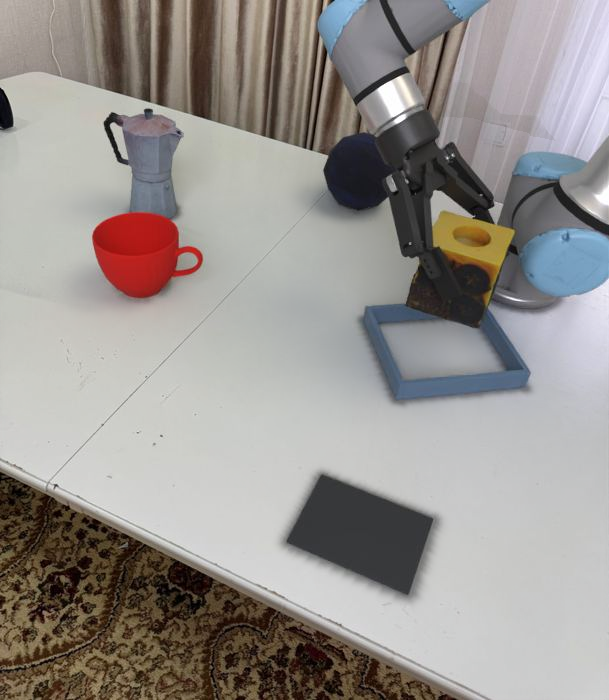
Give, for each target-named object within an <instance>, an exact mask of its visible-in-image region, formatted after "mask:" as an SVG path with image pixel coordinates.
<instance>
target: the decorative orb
mask: <svg viewBox="0 0 609 700" xmlns="http://www.w3.org/2000/svg"><path fill="white" fill-rule="evenodd" d="M376 138H377V135H371V134H370V133H367V132H365V131H363V132H359V133H355V134H352V135H347V136H343V137H342V138H341V139H340V140H338V142H336V144H335V145H334V146H333V147H332V148H331V149H330V150H329V153H328V155H327V158H326V161H325V164H324V167H323V170H322V172H323V175H324V176H323V177H324V179H325V183H326V187H327V190H328V191H329V193H330V194H331V195H332V197H333V198H334V200H335V201H336V203H337V204H338V205H340V206H343V207H346V208H348V209H351V210H354V211H362V210H366V209H371V208H374V207H375V208H376V207H378V206H379V205H381V204H382V203H383V202H384V201H386V200H387V199H389V197H388V195H387V193H386V191H385V189H384V187H383V185H382V180H383V179H384V178H386V177H388V176H389V175H391V174H393V173H394V172H396V169H395V167H394V165H393V164H392V165H386V164H385V162H384V160H383V159H382V157H381V155H380V153H379V151H378V149H377V147H376V145H375V142H376V141H375V139H376Z"/></svg>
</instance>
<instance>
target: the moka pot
mask: <svg viewBox="0 0 609 700" xmlns="http://www.w3.org/2000/svg"><path fill="white" fill-rule="evenodd" d="M153 112H154V109H152V108H150V107H149V108H148V107H146V108H144V109H143V113H139V114H135V115H132V116H128V115H126V114H118V113H116V112H113V111H111V112H110V114H108V116H106V118H105V120H103V123H102V124H103V127H104V128H103V129H104V131H105V134H106V137H107V138H108V141H109V144H110V146H111V148H112V149H113V154H114V155H115V158H116V161H117V163H119V164H121V165H124V166H129V167H130V168H131V174H132V176H131V185H130V186H131V188H130V200H129V201H130V202H129V203H130V204H129V213H134V212H145V213H153V214H157V215H161V216H163V217H166V218H168V219H170V220H171V219H173V217H175V216H176V215H177V201H176V196H175V194H176V193H175V188H174V182H173V177H172V173H173V171H172V170H173V169H172V168H173V161H174V160H173V159H174V155H175V153H176V150H177V148H178V146H179V144H180V142H181V140H182V139H183V138H185V132H184V131H182V130H181V129H180V128H179V127H177V123H176V121H175V120H173V119H171V118H169V117H166V116H164V115H163V114H157V113H156V114H155V113H153ZM113 123H114V124H115V125H117V126H118V127H120V128H121V132H122V136H123V140H124V145H125V150H126V155H127V159H126V158H123V157H122V154H121V152H120V150H119V146H118V144H117V140H116V138H115V136H114V132H113V130H112V128H111V124H113Z"/></svg>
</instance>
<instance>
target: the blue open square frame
mask: <svg viewBox="0 0 609 700" xmlns="http://www.w3.org/2000/svg"><path fill="white" fill-rule="evenodd" d="M405 304H406V302H404V303H403V302H402V303H391V304H390V303H389V304H376V305H375V304H374V305H365V307H364V312H363V319H362V322H363V324H364V327H365V329H366V332H367V334H368V336H369V339H370V341H371V343H372V346H373V348H374V351H375V353H376V355H377V358H378V360H379V362H380V366H381V367H382V370H383V372H384V374H385V376H386V379H387V381H388V384H389V386H390V389H391V391H392V393H393V396H394V398H395V400H396V401H403V400H404V401H405V400H414V399H422V398H433V397H443V396H454V395H462V394H463V395H464V394H473V393H481V392H482V393H483V392H491V391H503V390H511V389H512V390H513V389H522V388H523V389H524V388H526V386H527V384H528V382H529V379H530V376H531V374H532V371H531V370H530V368H529V366H528V365H527V364H526V362H525V361H524V360H523V358H522V356H521V355H520V353H519V351H517V349H516V348H515V346H514V344H513V343H512V341H511V340H510V339H509V337H508V336H507V334H506V332H505V331H504V329H503V327H502V326H501V325H500V324H499V322H498V320H497V319H496V317H495V316H494V314H493V313H492V312H491V310H490V308H489V307H488V308H487V312H486V314H485V316H484V319H483V321H482V323H481V326H480V328H481V329H482V330H483V332H484V334H485V335H486V336H487V338H488V340H489V342H490V344H491V345H492V346H493V347H494V349H495V351H496V352H497V354H498V355H499V357H500V358H501V360H502V362H503V363H504V365H505V367H506V368H507V370H502V371H492V372H491V371H489V372H481V373H469V374H459V375H448V376H438V377H427V378H418V379H406V380H404V379H403V376H402V374H401V372H400V370H399V367H398V365H397V362H396V361H395V358H394V356H393V354H392V352H391V350H390V346H389V345H388V342H387V341H386V338H385V335H384V334H383V331H382V329H381V326H380V325H379V323H394V322H395V323H396V322H407V321H408V322H409V321H421V320H432V319H441V318H440V317H436V316H433V315H430V314H426V313H423V312H421V311H418V310H414V309H412V308H408V307H406V306H405Z"/></svg>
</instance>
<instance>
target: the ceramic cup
mask: <svg viewBox="0 0 609 700" xmlns="http://www.w3.org/2000/svg"><path fill="white" fill-rule="evenodd" d="M179 234H180V233H179V229H178V226H177V225H176V223H175V222H174V221H172V220H171V219H168V218H166V217H163V216H161V215H157V214H153V213H145V212H134V213H130V212H126V213H121V214H116V215H113V216H111V217H109V218H106V219H104V220H103V221H101V222H100V223H98V224H97V225H96V226H95V228H94V229H93V231H92V235H91V241H92V246H93V251H94V254H95V258H96V260H97V264H98V266H99V268H100V270H101V272H102V274H103V275H104V277H105V278H106V280H107V281H108V282H109V283H110V284H111V285H112V286H113V287H115V288H116V289H117V290H118V291H120V292H122V293H123V294H125V295H126V296H128V297H130V298H131V297H132V298H135V299H146V298H151V297H153V296H156V295H157V294H159V293H160V292H161V291H162V290H163V288H165V287H166V286H167V285H168V283H169V282H170V281H171V280H172V278H176V277H177V278H178V277H184V276H189V275H192V274H194V273H196V272H197V271H198V270H199V269H200V268H201V267H202V265H203V262H204V261H203V260H204V257H203V253H202V251H200V249H199V248H198V247H196V246H192V245H185V246H182V247H180V235H179ZM186 253H188V254H193V255H194V256H195V257H196V259H197V263H196V264H194V266H193V267H190V268H185V269H177V266H178V262H179V257H180V256H181V255H182V254H186Z"/></svg>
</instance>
